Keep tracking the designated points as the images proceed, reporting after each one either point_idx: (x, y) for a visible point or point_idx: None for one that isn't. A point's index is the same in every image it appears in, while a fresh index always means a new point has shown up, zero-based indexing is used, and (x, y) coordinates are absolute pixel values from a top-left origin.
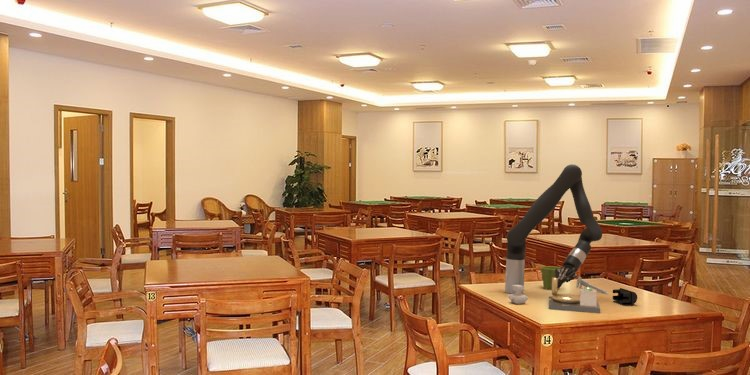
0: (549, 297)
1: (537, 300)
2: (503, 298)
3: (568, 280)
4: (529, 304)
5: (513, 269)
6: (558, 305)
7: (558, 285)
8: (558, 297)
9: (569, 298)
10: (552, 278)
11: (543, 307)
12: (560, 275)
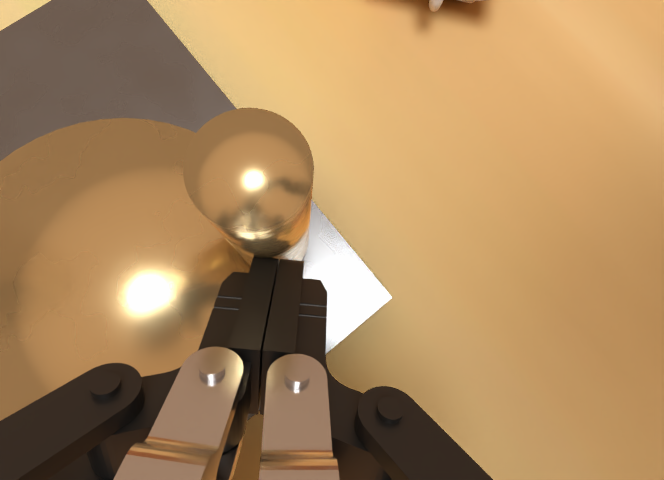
0: (350, 256)
1: (443, 205)
2: (637, 11)
3: (77, 464)
4: (351, 5)
5: None
6: (37, 11)
7: (233, 274)
8: (137, 143)
9: (17, 208)
10: (274, 118)
11: (201, 9)
12: (292, 455)
